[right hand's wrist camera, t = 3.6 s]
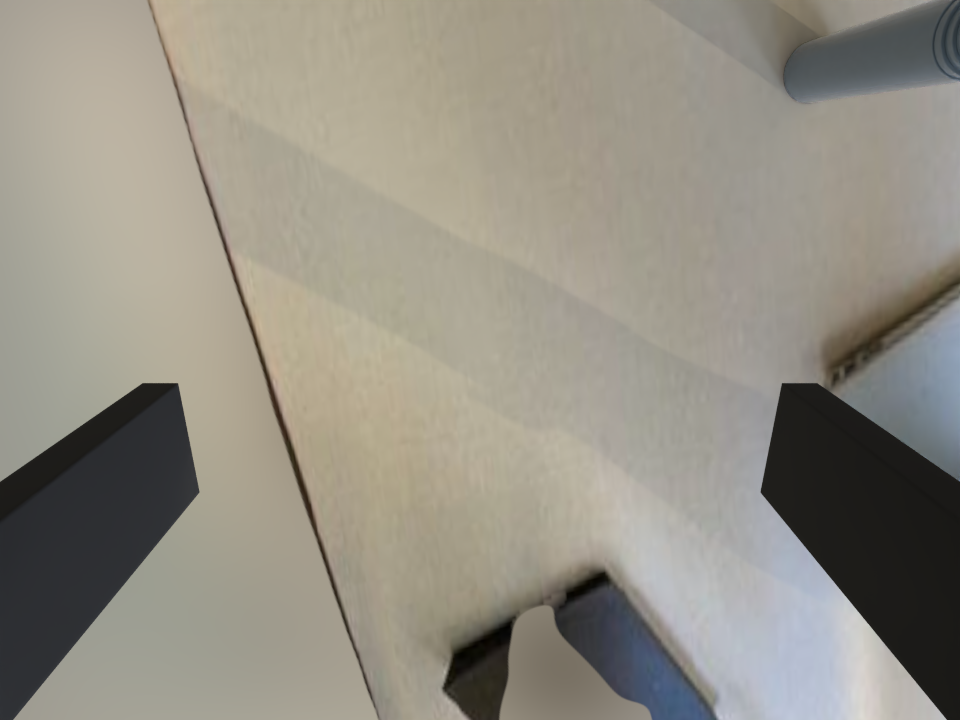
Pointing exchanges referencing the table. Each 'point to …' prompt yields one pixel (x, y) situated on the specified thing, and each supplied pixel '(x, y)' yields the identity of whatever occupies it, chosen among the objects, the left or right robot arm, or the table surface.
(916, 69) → the bottle
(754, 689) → the table surface
